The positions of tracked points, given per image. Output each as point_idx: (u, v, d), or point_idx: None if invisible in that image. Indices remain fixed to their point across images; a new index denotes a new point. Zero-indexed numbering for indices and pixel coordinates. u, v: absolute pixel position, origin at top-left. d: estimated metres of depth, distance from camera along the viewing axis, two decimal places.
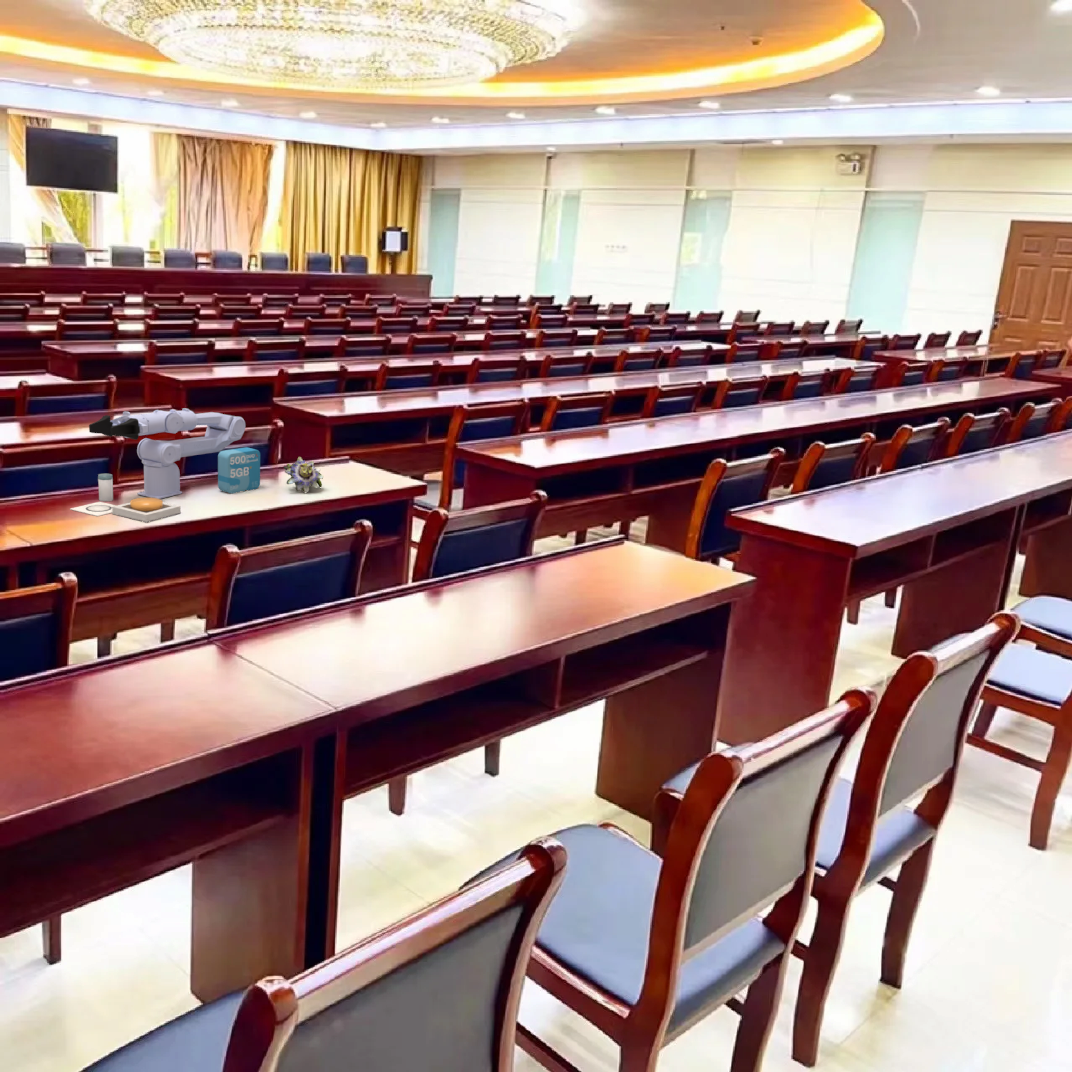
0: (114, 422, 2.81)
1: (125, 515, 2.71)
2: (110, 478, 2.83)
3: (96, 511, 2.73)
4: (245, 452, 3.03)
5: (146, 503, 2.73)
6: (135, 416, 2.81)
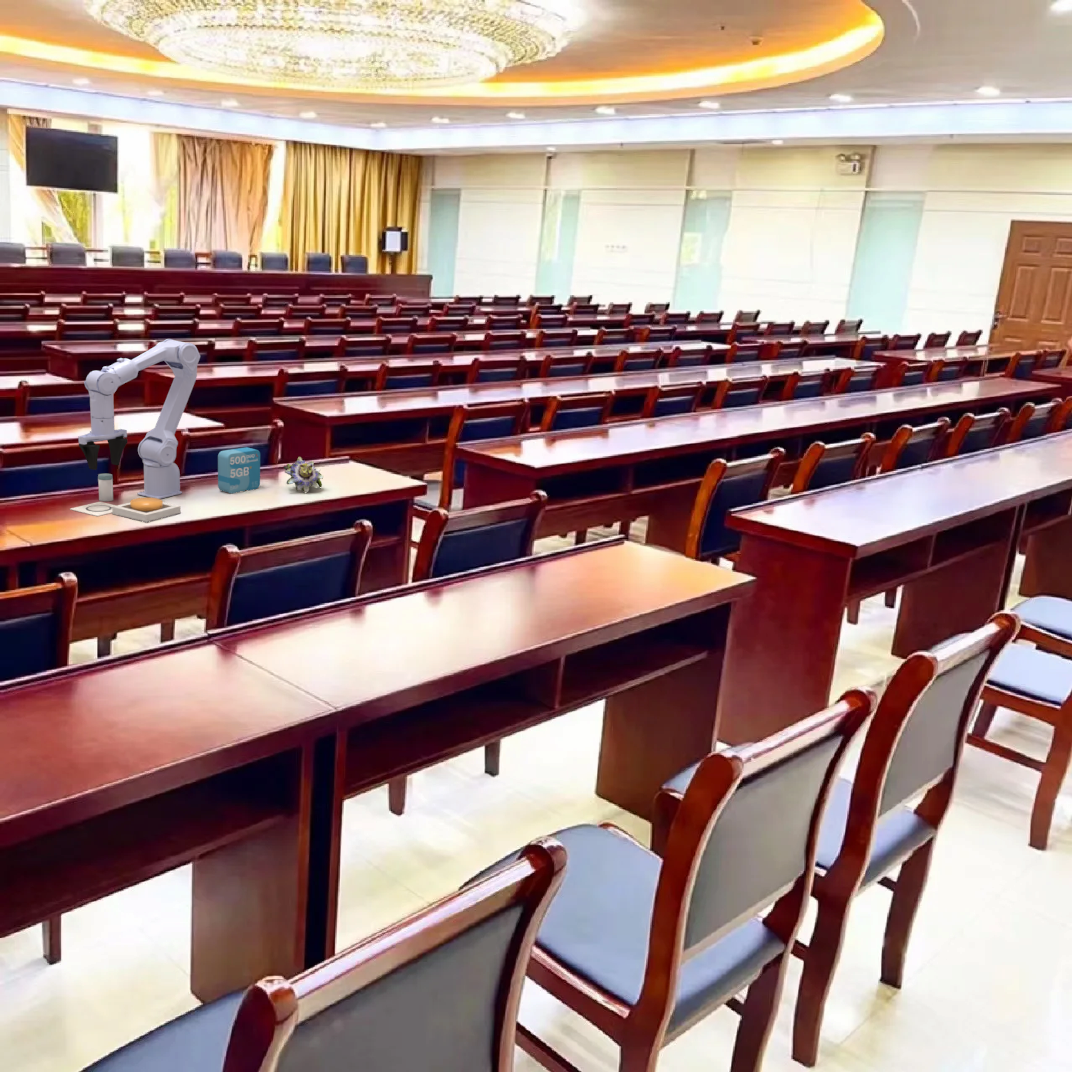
0: None
1: (125, 515, 2.71)
2: (110, 478, 2.83)
3: (96, 511, 2.73)
4: (245, 452, 3.03)
5: (146, 503, 2.73)
6: None
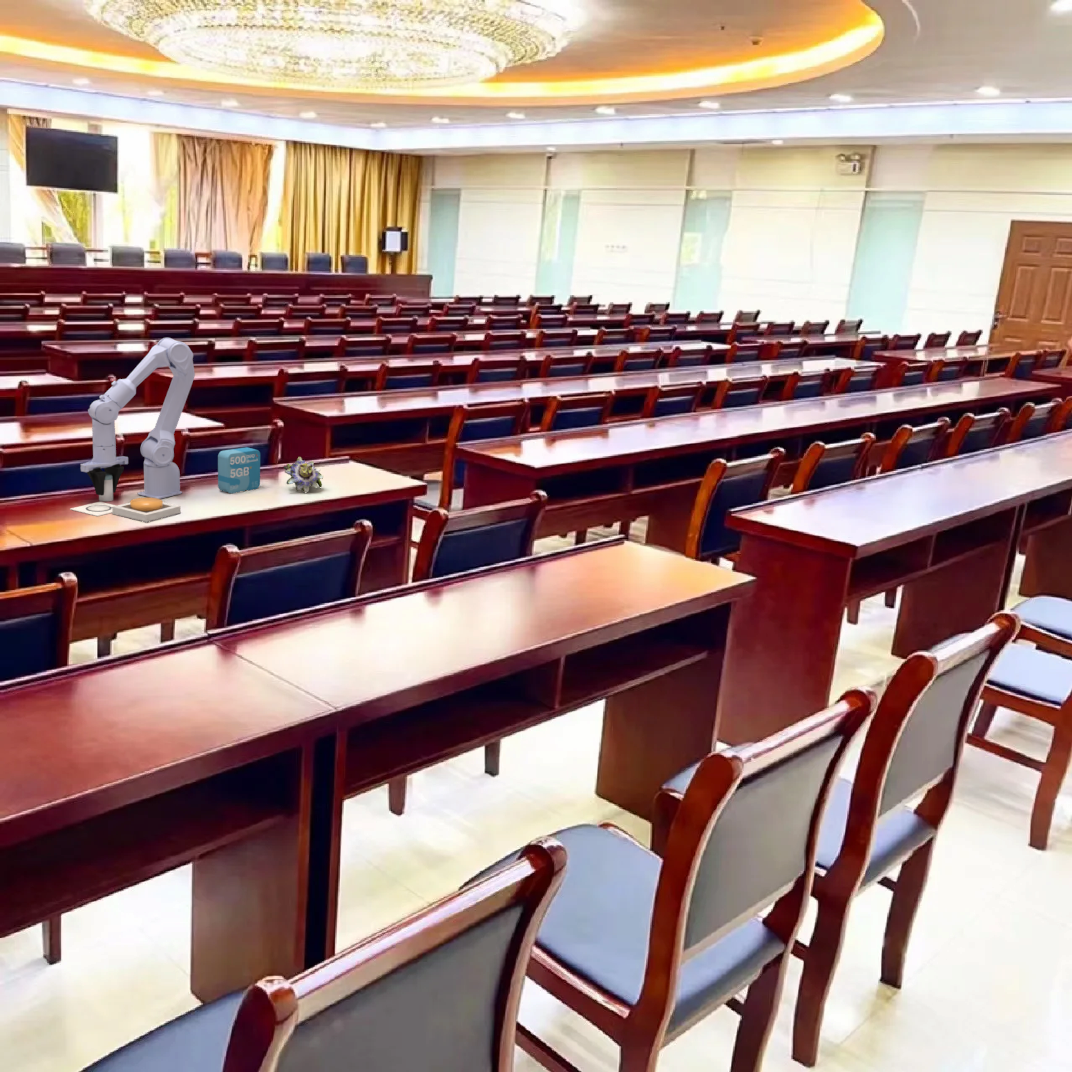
0: None
1: (125, 515, 2.71)
2: (110, 478, 2.83)
3: (96, 511, 2.73)
4: (245, 452, 3.03)
5: (146, 503, 2.73)
6: None
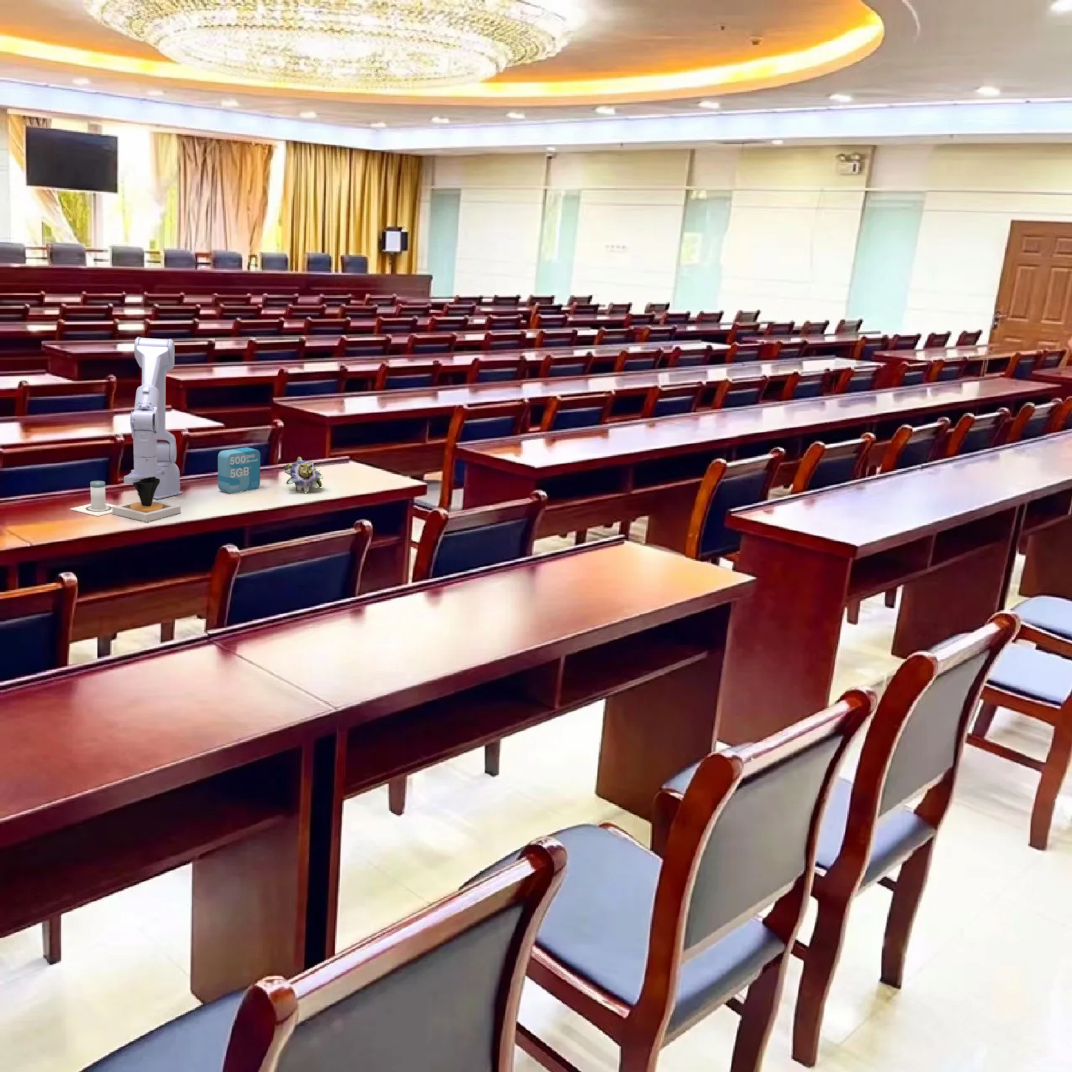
0: None
1: (125, 515, 2.71)
2: (102, 486, 2.74)
3: (96, 511, 2.73)
4: (245, 452, 3.03)
5: (146, 507, 2.73)
6: None
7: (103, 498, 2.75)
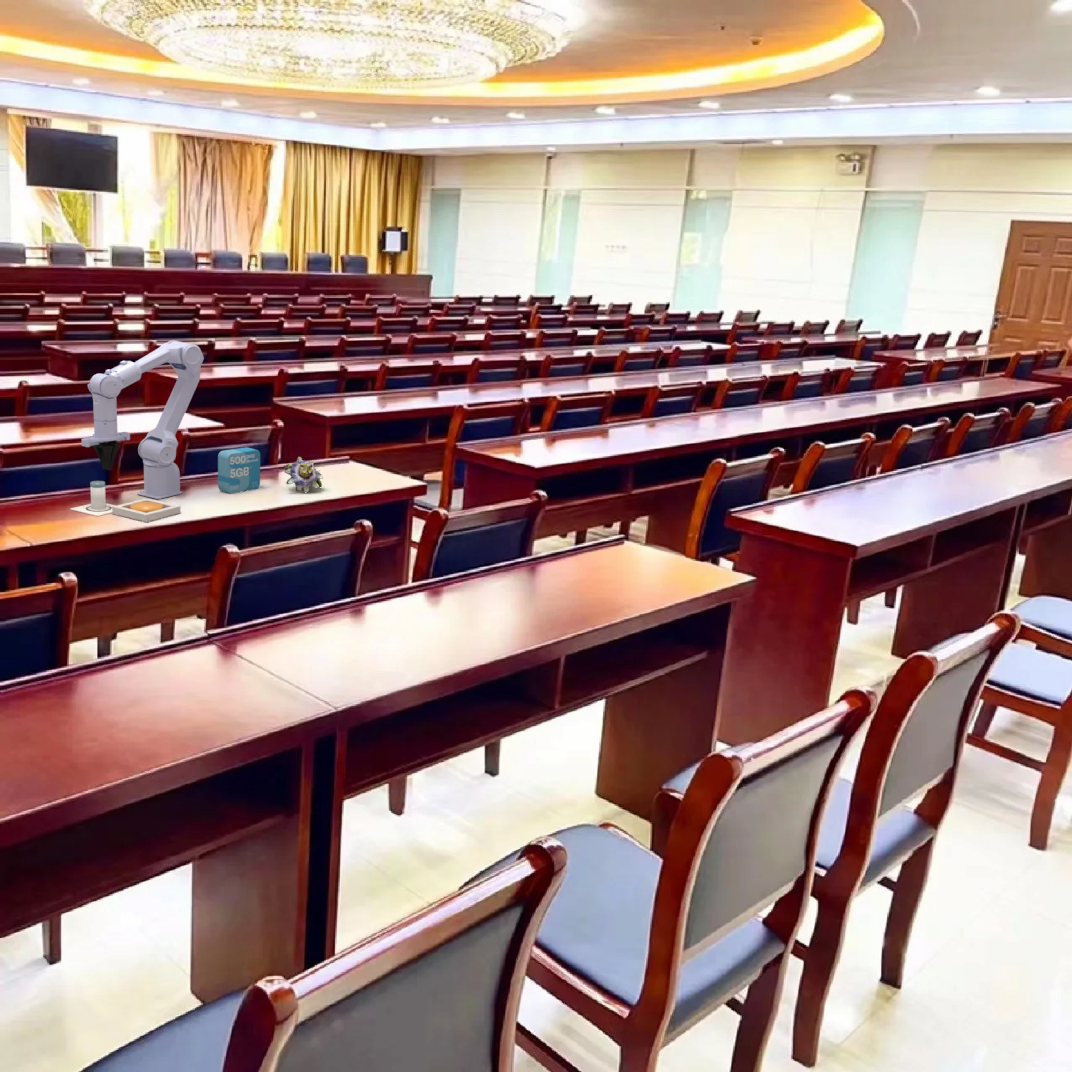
0: None
1: (125, 515, 2.71)
2: (102, 486, 2.74)
3: (96, 511, 2.73)
4: (245, 452, 3.03)
5: (146, 507, 2.73)
6: None
7: (103, 498, 2.75)
